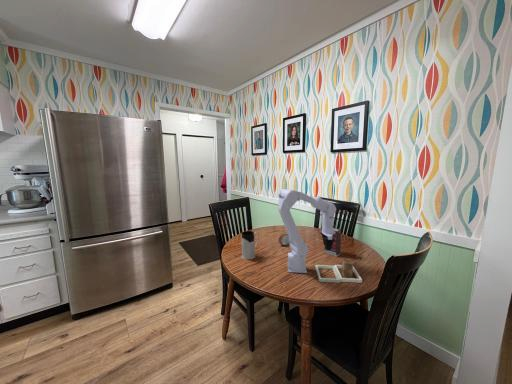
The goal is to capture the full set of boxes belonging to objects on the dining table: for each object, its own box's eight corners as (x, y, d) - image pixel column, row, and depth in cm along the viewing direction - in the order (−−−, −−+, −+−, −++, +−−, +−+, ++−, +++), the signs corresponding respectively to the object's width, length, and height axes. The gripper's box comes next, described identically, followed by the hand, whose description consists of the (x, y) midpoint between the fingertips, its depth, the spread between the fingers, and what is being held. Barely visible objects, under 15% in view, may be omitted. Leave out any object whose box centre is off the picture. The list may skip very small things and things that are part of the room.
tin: (295, 241, 152) (295, 230, 150) (298, 242, 149) (298, 231, 148) (278, 245, 144) (278, 233, 143) (281, 247, 141) (281, 235, 140)
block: (343, 276, 103) (344, 263, 103) (341, 272, 107) (342, 259, 106) (352, 277, 103) (352, 263, 102) (349, 272, 107) (350, 260, 106)
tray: (340, 281, 99) (340, 278, 99) (334, 267, 112) (334, 264, 112) (362, 282, 98) (362, 279, 98) (352, 268, 111) (353, 265, 111)
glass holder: (238, 256, 128) (237, 233, 126) (254, 249, 138) (253, 227, 136) (248, 261, 122) (247, 236, 120) (264, 253, 132) (263, 230, 130)
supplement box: (340, 254, 128) (341, 229, 126) (336, 256, 125) (337, 231, 123) (328, 250, 135) (328, 226, 133) (323, 252, 132) (324, 228, 130)
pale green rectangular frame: (319, 281, 100) (319, 278, 99) (315, 267, 113) (315, 264, 113) (340, 282, 98) (340, 279, 98) (333, 268, 112) (333, 265, 111)
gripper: (338, 228, 106) (337, 253, 108) (332, 220, 120) (331, 242, 122) (324, 227, 107) (323, 252, 109) (319, 220, 121) (319, 242, 123)
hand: (327, 247), depth 116 cm, fingers open, 7 cm apart
